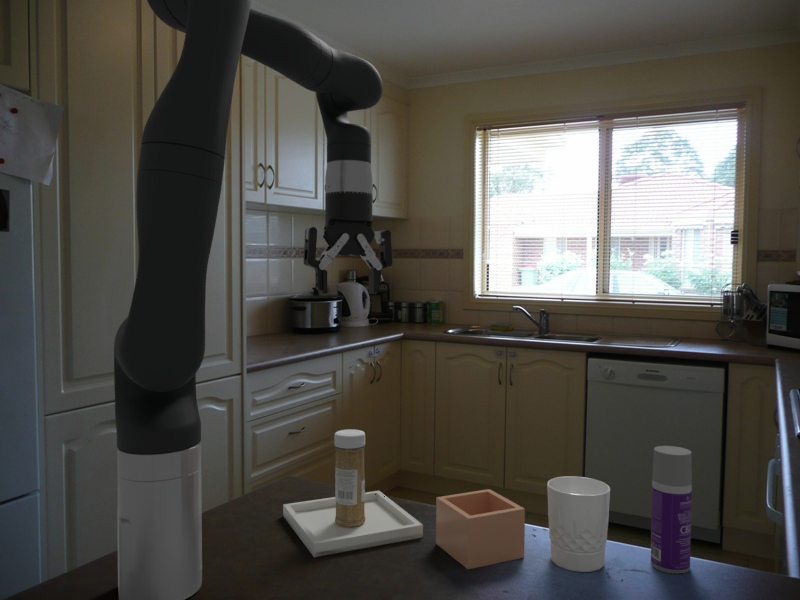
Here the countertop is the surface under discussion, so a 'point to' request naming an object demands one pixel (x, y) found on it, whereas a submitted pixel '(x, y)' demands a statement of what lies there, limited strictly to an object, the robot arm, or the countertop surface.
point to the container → (671, 509)
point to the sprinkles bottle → (349, 477)
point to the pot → (480, 528)
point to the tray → (329, 538)
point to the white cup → (578, 522)
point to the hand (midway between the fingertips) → (348, 293)
